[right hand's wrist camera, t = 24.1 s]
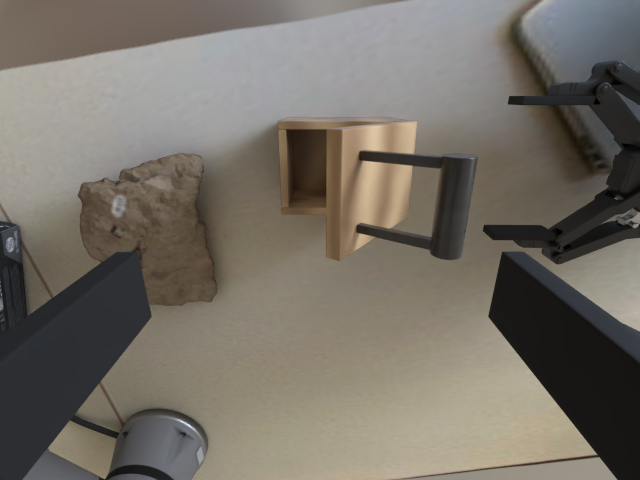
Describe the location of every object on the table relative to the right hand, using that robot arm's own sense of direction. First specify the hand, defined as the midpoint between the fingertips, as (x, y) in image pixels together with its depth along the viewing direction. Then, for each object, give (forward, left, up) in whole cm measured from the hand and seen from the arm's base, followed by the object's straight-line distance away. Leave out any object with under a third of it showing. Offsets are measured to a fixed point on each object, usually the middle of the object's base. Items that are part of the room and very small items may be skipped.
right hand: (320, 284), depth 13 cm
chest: (+2, 0, -33) cm, 33 cm away
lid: (+4, 0, -18) cm, 19 cm away
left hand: (+19, 0, -24) cm, 31 cm away
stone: (-21, -10, -33) cm, 40 cm away
